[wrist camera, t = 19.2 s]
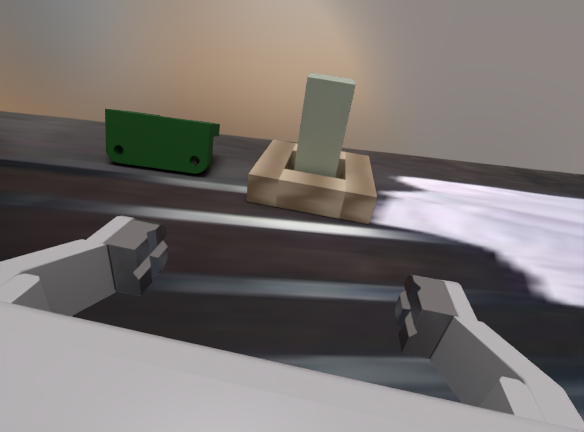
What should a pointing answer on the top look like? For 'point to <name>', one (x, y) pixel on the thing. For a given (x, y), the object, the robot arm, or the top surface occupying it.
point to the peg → (323, 124)
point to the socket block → (313, 185)
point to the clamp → (159, 141)
